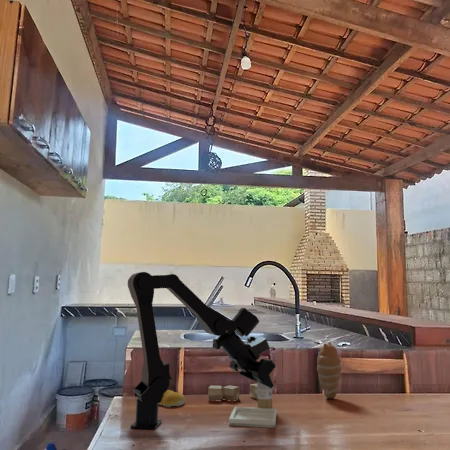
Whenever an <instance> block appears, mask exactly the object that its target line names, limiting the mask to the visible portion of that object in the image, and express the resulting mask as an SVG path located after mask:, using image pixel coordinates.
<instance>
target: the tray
mask: <svg viewBox="0 0 450 450" xmlns="http://www.w3.org/2000/svg"><path fill="white" fill-rule="evenodd" d="M277 414H278V413H277V408H273V409H272V408H258V407H252V406H251V407H249V406H234V408H233V410H232V412H231V414H230V416H229V419H228V426H236V427H238V426H239V427H254V428H267V429H268V428H270V429H271V428H272V429H276V427H277V426H276V425H277V417H278V416H277Z"/></svg>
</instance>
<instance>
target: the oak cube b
mask: <svg viewBox="0 0 450 450" xmlns="http://www.w3.org/2000/svg"><path fill="white" fill-rule="evenodd" d="M222 399H225V400H230V401H234V400H237V399H239V400H240V386H235V385H226V386H222ZM230 401H229V402H230ZM237 401H238V400H237ZM234 402H235V401H234Z"/></svg>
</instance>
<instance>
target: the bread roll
mask: <svg viewBox="0 0 450 450" xmlns="http://www.w3.org/2000/svg"><path fill="white" fill-rule="evenodd" d="M185 403H186V398H185V395H184V394H183V393H180V392H175V391H174V390H170V389H167V391H166V392H165V393H164V395H163V397H162V400H161V402H160V403H158V404H159V405H158V406H161V405H163V407H165V406H166V407H165V408H172V407H171V406H177V407H181V406H183V405H184V404H185ZM180 405H181V406H180Z"/></svg>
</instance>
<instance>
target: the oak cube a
mask: <svg viewBox="0 0 450 450" xmlns="http://www.w3.org/2000/svg"><path fill="white" fill-rule="evenodd" d="M222 387H223V385H209V386H208V394H207V395H208V396H207V397H208V398H207V399H209V400H221V399H222ZM221 401H222V400H221Z"/></svg>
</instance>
